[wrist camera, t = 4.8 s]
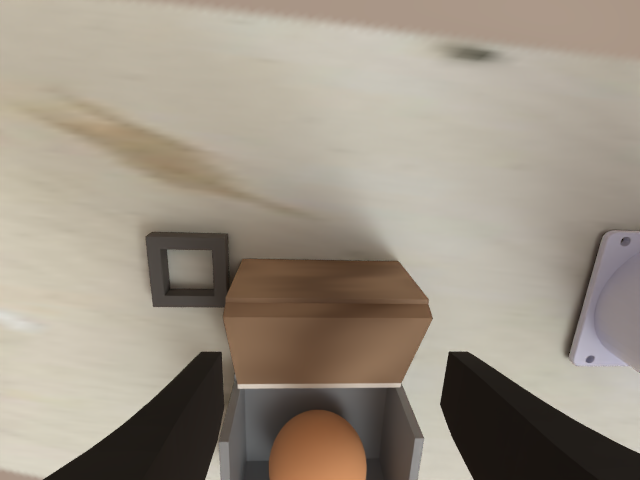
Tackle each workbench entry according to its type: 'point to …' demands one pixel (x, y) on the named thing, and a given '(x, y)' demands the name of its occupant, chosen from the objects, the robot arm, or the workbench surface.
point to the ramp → (323, 323)
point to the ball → (317, 449)
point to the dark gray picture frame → (160, 274)
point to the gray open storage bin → (350, 403)
